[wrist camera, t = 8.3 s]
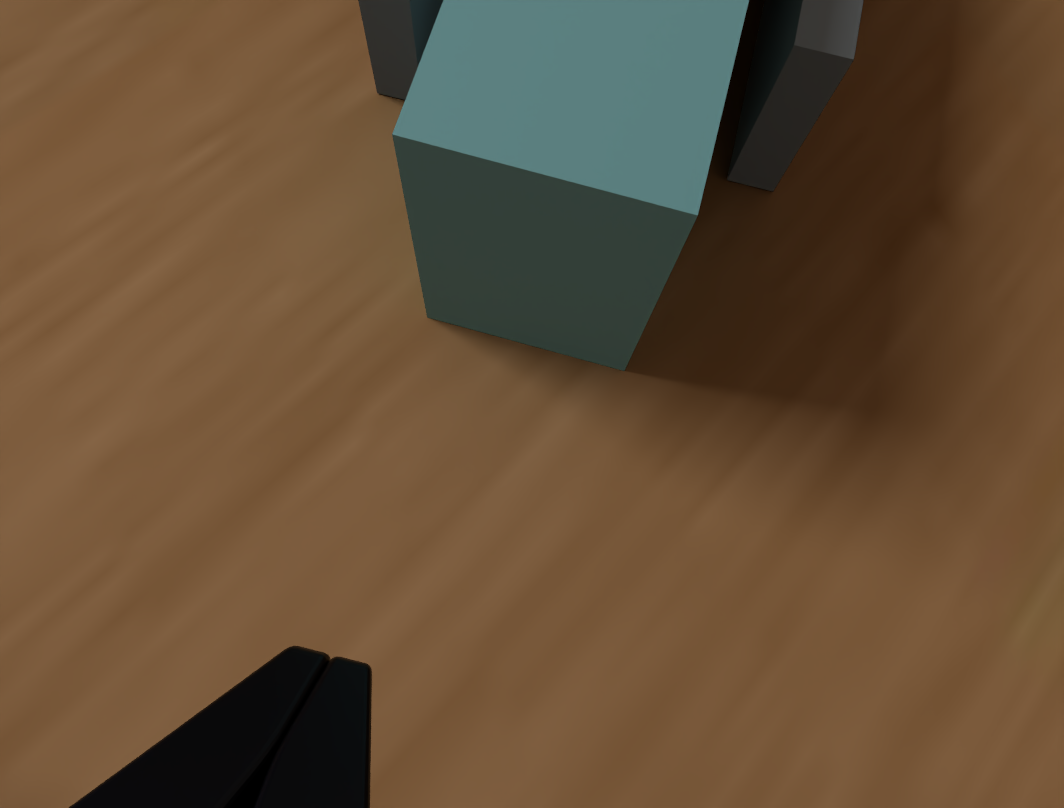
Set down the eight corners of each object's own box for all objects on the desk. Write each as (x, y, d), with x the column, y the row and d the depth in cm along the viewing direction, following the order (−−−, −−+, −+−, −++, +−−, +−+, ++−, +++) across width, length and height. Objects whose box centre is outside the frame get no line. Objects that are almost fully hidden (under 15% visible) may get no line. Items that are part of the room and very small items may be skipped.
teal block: (623, 372, 24) (697, 215, 15) (427, 318, 24) (392, 134, 16) (728, -41, 29) (830, -339, 20) (563, -84, 29) (593, -396, 20)
